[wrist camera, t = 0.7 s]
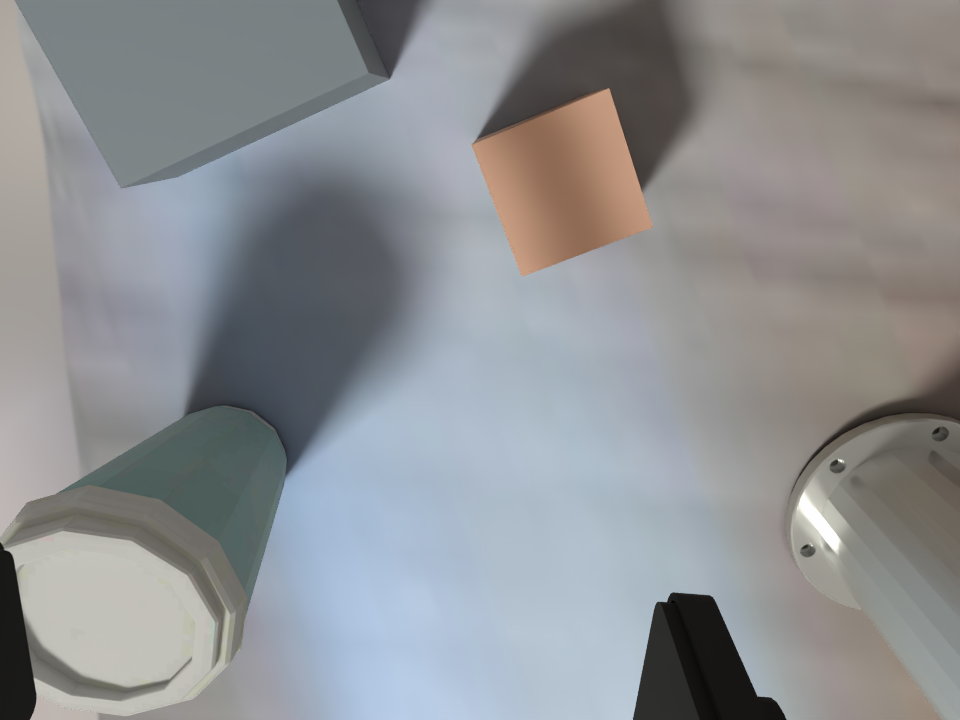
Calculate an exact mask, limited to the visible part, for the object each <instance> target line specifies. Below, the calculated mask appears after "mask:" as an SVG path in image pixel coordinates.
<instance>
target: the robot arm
mask: <svg viewBox="0 0 960 720" xmlns="http://www.w3.org/2000/svg"><path fill="white" fill-rule="evenodd" d="M786 537H787V541H788V545H789V550H790V552H791V554H792V556H793V558H794V560H795V562H796V564H797V566H798V567H799V568H800V570H801V571H802V573H803V574H804V576H805V577H806V579H807V580H808V581H809V582H810V583H811V584H812V585H813V586H814V587H815V588H816V589H817V590H818V591H819V592H820V593H822V594H824V595H825V596H827V597H828V598H830V599H832V600H833V601H835V602H837V603H840V604H842V605H845V606H848V607H850V608H853V609H857V610H862V611H864V613H865V614H866V615H867V617H868V618H869V620H870V621H871V622H872V624H873V625H874V627H875V628H876V629H877V631H878V632H879V633H880V635H881V636H882V638H883V639H884V640H885V642H886V643H887V645H888V646H889V647H890V649H891V650H892V651H893V653H894V654H895V656H896V657H897V658H898V660H899V661H900V663H901V664H902V665H903V667H904V668H905V670H906V671H907V672H908V674H909V675H910V676H911V678H912V679H913V681H914V682H915V683H916V685H917V686H918V688H919V689H920V690H921V692H922V693H923V694H924V696H925V697H926V699H927V700H928V701H929V703H930V704H931V706H932V707H933V708H934V710H935V711H936V712H937V714H938V715H939V717H940V718H941V719H942V720H960V421H959V420H956V419H954V418H951V417H946V416H941V415H936V414H931V413H905V414H899V415H892V416H886V417H883V418H880V419H876V420H873V421H870V422H867V423H864V424H862V425H860V426H858V427H856V428H854V429H852V430H850V431H848V432H846V433H844V434H842V435H841V436H840V437H838V438H837V439H836V440H834V441H833V442H831V443H830V444H829V445H827V446H826V447H825V448H824V449H823V450H822V451H821V452H820V453H819V454H818V455H817V456H816V457H815V458H814V459H813V460H812V461H811V462H810V463H809V464H808V466H807V467H806V469H805V470H804V471H803V473H802V474H801V476H800V477H799V479H798V480H797V482H796V485H795V487H794V489H793V491H792V494H791V496H790V499H789V503H788V508H787V512H786ZM35 705H36V688H35V682H34V676H33V670H32V665H31V659H30V653H29V647H28V641H27V635H26V629H25V623H24V617H23V611H22V605H21V599H20V593H19V587H18V581H17V575H16V569H15V563H14V558H13V555H12V554H11V553H10V552H9V551H6V550H4V547H3V545H2V544H1V542H0V720H30V718H31V716H32V714H33V712H34V708H35ZM633 720H786V718H785V716H784V713H783V712H782V710H781V708H780V707H779V705H778V703H777V702H776V701H774V700H773V699H772V698H769V697H757V695H756V692H755V690H754V688H753V685H752V683H751V681H750V679H749V676H748V674H747V672H746V670H745V667H744V665H743V663H742V661H741V658H740V656H739V654H738V652H737V649H736V647H735V645H734V642H733V640H732V638H731V636H730V633H729V631H728V629H727V627H726V624H725V622H724V620H723V618H722V615H721V613H720V611H719V609H718V606H717V604H716V602H715V600H714V599H713V597H711V596H710V595H697V594H685V593H671V594H670V596H669V598H668V601H667V602H657V603H656V605H655V609H654V613H653V618H652V624H651V629H650V634H649V639H648V644H647V650H646V655H645V660H644V665H643V670H642V676H641V681H640V686H639V691H638V696H637V702H636V707H635V712H634V717H633Z"/></svg>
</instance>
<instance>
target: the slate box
mask: <svg viewBox="0 0 960 720" xmlns="http://www.w3.org/2000/svg"><path fill="white" fill-rule="evenodd" d="M15 2H16V4H17V5H18V7H19V9H20V11H21V12H22V14H23V16H24V18H25V19H26V21H27V23H28V25H29V27H30V28H31V30H32V32H33V34H34V35H35V37H36V39H37V41H38V42H39V44H40V46H41V48H42V50H43V51H44V53H45V55H46V57H47V58H48V60H49V62H50V64H51V65H52V67H53V69H54V71H55V73H56V74H57V76H58V78H59V80H60V81H61V83H62V85H63V87H64V89H65V90H66V92H67V94H68V96H69V97H70V99H71V101H72V103H73V104H74V106H75V108H76V110H77V112H78V113H79V115H80V117H81V119H82V120H83V122H84V124H85V126H86V127H87V129H88V131H89V133H90V135H91V136H92V138H93V140H94V142H95V143H96V145H97V147H98V149H99V150H100V152H101V154H102V156H103V158H104V159H105V161H106V163H107V165H108V166H109V168H110V170H111V172H112V173H113V175H114V177H115V179H116V181H117V182H118V184H119V186H120V188H126V187H131V186H136V185H141V184H146V183H151V182H156V181H161V180H166V179H170V178H175V177H179V176H181V175H183V174H185V173H188V172H190V171H192V170H194V169H196V168H198V167H201V166H203V165H205V164H207V163H209V162H211V161H214V160H216V159H218V158H220V157H222V156H224V155H227V154H229V153H231V152H233V151H235V150H237V149H240V148H242V147H244V146H246V145H248V144H250V143H253V142H255V141H257V140H259V139H261V138H263V137H266V136H268V135H270V134H272V133H274V132H276V131H279V130H281V129H283V128H285V127H287V126H289V125H292V124H294V123H296V122H298V121H300V120H302V119H304V118H307V117H309V116H311V115H313V114H315V113H317V112H320V111H322V110H324V109H326V108H328V107H330V106H333V105H335V104H337V103H339V102H341V101H343V100H346V99H348V98H350V97H352V96H354V95H356V94H359V93H361V92H363V91H365V90H367V89H369V88H372V87H374V86H376V85H378V84H380V83H382V82H385V81H387V80H389V79H390V78H389V76H388V73H387V71H386V69H385V66H384V64H383V62H382V59H381V57H380V55H379V52H378V50H377V48H376V45H375V43H374V41H373V38H372V36H371V34H370V31H369V29H368V27H367V24H366V22H365V20H364V17H363V15H362V13H361V10H360V8H359V6H358V3H357V1H356V0H15Z"/></svg>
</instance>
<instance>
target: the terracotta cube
mask: <svg viewBox="0 0 960 720" xmlns="http://www.w3.org/2000/svg"><path fill="white" fill-rule="evenodd" d="M472 147H473V149H474V152H475V155H476V157H477V160H478V163H479V165H480V168H481V170H482V173H483V176H484V178H485V181H486V184H487V186H488V189H489V192H490V194H491V197H492V199H493V202H494V205H495V207H496V210H497V213H498V215H499V218H500V220H501V223H502V226H503V228H504V231H505V234H506V236H507V239H508V241H509V244H510V247H511V249H512V252H513V255H514V257H515V260H516V262H517V265H518V268H519V270H520V273H521V276H525V275H527V274H530V273H533V272H535V271H538V270H541V269H543V268H546V267H549V266H551V265H554V264H557V263H559V262H562V261H564V260H567V259H570V258H572V257H575V256H578V255H580V254H583V253H586V252H588V251H591V250H594V249H596V248H599V247H602V246H604V245H607V244H609V243H612V242H615V241H617V240H620V239H623V238H625V237H628V236H631V235H633V234H636V233H639V232H641V231H644V230H647V229H649V228H652V227H653V226H652V223H651V219H650V216H649V213H648V210H647V207H646V204H645V200H644V197H643V194H642V191H641V188H640V184H639V181H638V178H637V175H636V172H635V169H634V165H633V162H632V159H631V156H630V153H629V149H628V146H627V143H626V140H625V137H624V134H623V130H622V127H621V124H620V121H619V118H618V114H617V111H616V108H615V105H614V102H613V99H612V95H611V92H610V89H609V88H608V89H603V90H599V91H594V92H591V93H588V94H586V95H583V96H581V97H578V98H576V99H574V100H571V101H569V102H566V103H564V104H561V105H559V106H557V107H554V108H552V109H549V110H547V111H544V112H542V113H540V114H537V115H535V116H532V117H530V118H527V119H525V120H523V121H520V122H518V123H515V124H513V125H510V126H508V127H506V128H503V129H501V130H498V131H496V132H493V133H491V134H489V135H486V136H484V137H481V138H479V139H476V141H475V142H474V143H473V144H472Z"/></svg>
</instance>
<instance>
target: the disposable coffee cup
mask: <svg viewBox="0 0 960 720" xmlns="http://www.w3.org/2000/svg"><path fill="white" fill-rule="evenodd" d="M286 465H287V457H286V452H285V450H284V447H283V445H282V443H281V441H280V439H279V437H278V434H277V432H276V430H275V428H273V427H272V426H271V425H270V424H268V423H267V422H266V421H264V420H263V419H262V418H261V417H259V416H258V415H257V414H255V413H254V412H253V411H250V410H245V409H241V408H236V407H231V406H226V405H222V406H214V407H211V408H207V409H204V410H201V411H197V412H194V413H190V414H188V415H186V416H185V417H183V418H181V419H180V420H178V421H177V422H175V423H173V424H172V425H170V426H168V427H167V428H165V429H163V430H162V431H160V432H158V433H157V434H155V435H153V436H152V437H150V438H148V439H147V440H145V441H143V442H142V443H140V444H138V445H137V446H135V447H133V448H132V449H130V450H128V451H127V452H125V453H123V454H122V455H120V456H118V457H117V458H115V459H113V460H112V461H110V462H108V463H107V464H105V465H103V466H102V467H100V468H98V469H97V470H95V471H93V472H92V473H90V474H88V475H87V476H85V477H84V478H82V479H80V480H79V481H77V482H75V483H74V484H72V485H70V486H69V487H67V488H65V489H64V490H62V491H60V492H59V493H57V494H55V495H51V496H48V497H44V498H41V499H37V500H34V501H31V502H27V503H26V505H25V506H24V507H23V509H22V510H21V511H20V513H19V514H18V515H17V516H16V518H15V519H14V520H13V521H12V523H11V524H10V525H9V527H8V528H7V529H6V530H5V532H4V533H3V534H2V536H1V537H0V542H1V544H2V545H3V547H4V550H6V551H9V552H10V553H11V554H12V555H13V558H14V563H15V569H16V575H17V581H18V587H19V593H20V599H21V605H22V611H23V617H24V623H25V629H26V635H27V641H28V647H29V653H30V659H31V665H32V670H33V676H34V682H35V688H36V694H38V695H40V696H42V697H44V698H46V699H48V700H50V701H52V702H54V703H56V704H58V705H60V706H62V707H64V708H67V709H74V710H83V711H90V712H97V713H105V714H113V715H121V716H129V715H133V714H136V713H140V712H144V711H148V710H152V709H156V708H160V707H164V706H167V705H171V704H175V703H179V702H183V701H187V700H191V699H194V698H195V697H196V696H197V695H198V694H199V693H200V692H201V691H202V690H203V689H204V688H205V687H206V686H207V685H208V684H209V683H210V682H211V681H212V680H213V679H214V678H215V677H216V676H217V675H218V674H219V673H220V672H221V671H222V670H224V669H225V668H226V667H227V666H228V665H229V664H230V662H231V661H232V659H233V657H234V656H235V654H236V653H237V652H239V651H240V650H241V645H242V637H243V629H244V620H245V617H246V613H247V610H248V606H249V603H250V600H251V596H252V593H253V589H254V586H255V582H256V579H257V576H258V572H259V569H260V565H261V562H262V558H263V555H264V552H265V548H266V545H267V541H268V538H269V534H270V531H271V528H272V524H273V521H274V517H275V514H276V510H277V507H278V504H279V500H280V497H281V493H282V490H283V486H284V480H285V473H286Z"/></svg>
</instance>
